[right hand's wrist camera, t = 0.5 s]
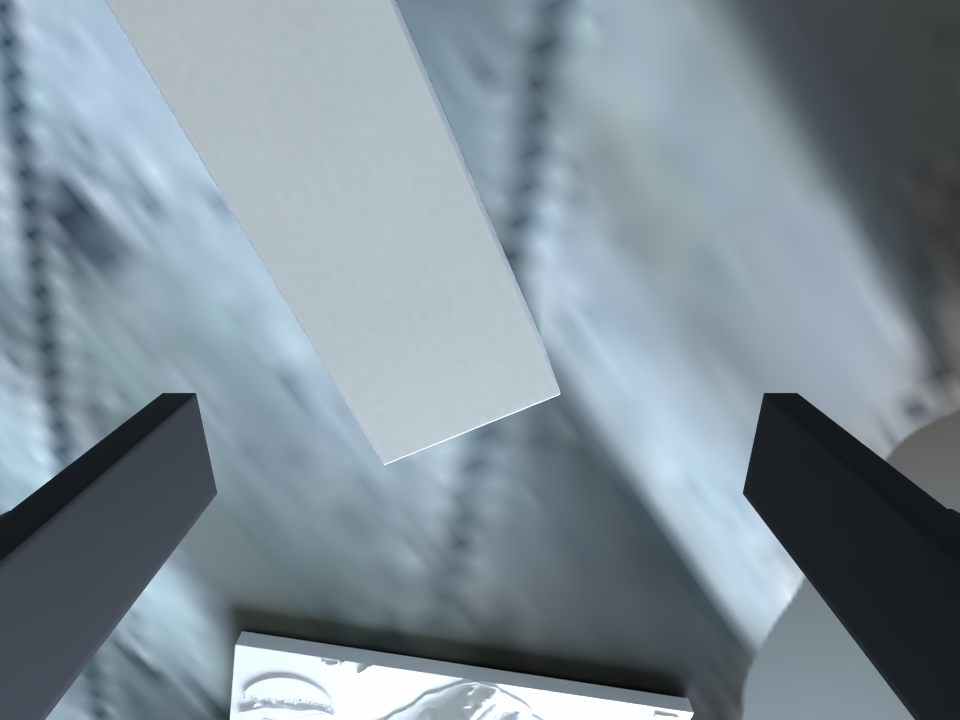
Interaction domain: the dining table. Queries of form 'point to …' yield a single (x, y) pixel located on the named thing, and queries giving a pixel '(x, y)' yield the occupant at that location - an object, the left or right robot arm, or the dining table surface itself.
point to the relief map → (414, 688)
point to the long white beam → (352, 204)
